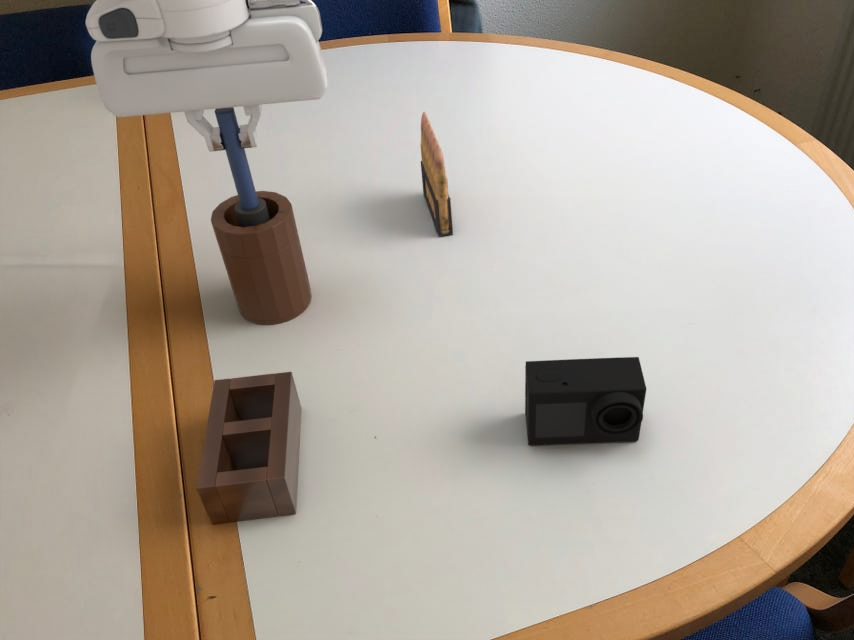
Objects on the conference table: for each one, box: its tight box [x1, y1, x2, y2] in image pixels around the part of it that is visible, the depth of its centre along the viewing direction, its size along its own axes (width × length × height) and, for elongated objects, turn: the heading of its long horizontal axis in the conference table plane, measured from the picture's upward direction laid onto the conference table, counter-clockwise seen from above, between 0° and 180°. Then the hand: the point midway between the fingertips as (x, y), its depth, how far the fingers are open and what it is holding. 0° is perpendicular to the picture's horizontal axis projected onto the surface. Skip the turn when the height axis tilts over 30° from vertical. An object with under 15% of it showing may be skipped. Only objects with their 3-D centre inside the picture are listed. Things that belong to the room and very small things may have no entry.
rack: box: [195, 371, 302, 525], centre depth 72 cm, size 7×13×5 cm, turn 7°
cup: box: [210, 190, 312, 326], centre depth 87 cm, size 8×8×12 cm
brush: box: [214, 107, 270, 227], centre depth 80 cm, size 3×3×16 cm
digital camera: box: [524, 356, 647, 446], centre depth 72 cm, size 10×5×7 cm, turn 91°
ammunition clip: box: [420, 111, 454, 238], centre depth 99 cm, size 11×2×12 cm, turn 13°
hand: (234, 147), depth 78 cm, fingers closed on brush, 2 cm apart
